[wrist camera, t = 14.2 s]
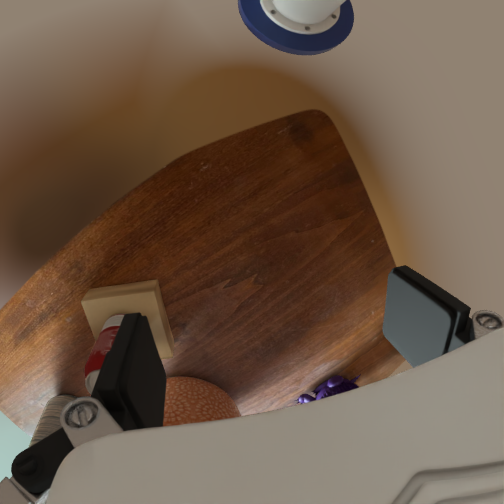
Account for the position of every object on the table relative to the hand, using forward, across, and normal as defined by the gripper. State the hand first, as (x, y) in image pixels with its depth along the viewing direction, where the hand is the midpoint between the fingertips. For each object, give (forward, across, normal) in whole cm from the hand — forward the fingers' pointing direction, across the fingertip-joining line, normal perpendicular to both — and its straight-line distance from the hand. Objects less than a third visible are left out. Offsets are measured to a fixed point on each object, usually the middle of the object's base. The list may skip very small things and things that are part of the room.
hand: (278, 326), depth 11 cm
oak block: (+30, +16, +15) cm, 37 cm away
